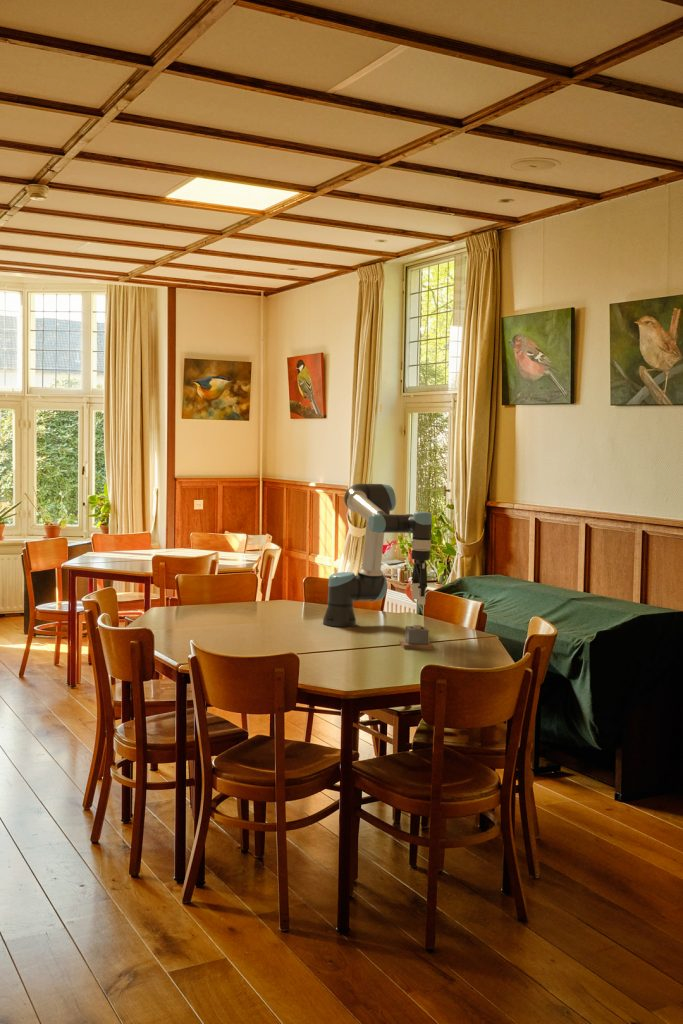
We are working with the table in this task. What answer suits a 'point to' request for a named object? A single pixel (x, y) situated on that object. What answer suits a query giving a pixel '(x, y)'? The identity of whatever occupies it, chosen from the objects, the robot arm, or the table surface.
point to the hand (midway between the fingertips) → (418, 601)
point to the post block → (414, 646)
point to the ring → (416, 635)
